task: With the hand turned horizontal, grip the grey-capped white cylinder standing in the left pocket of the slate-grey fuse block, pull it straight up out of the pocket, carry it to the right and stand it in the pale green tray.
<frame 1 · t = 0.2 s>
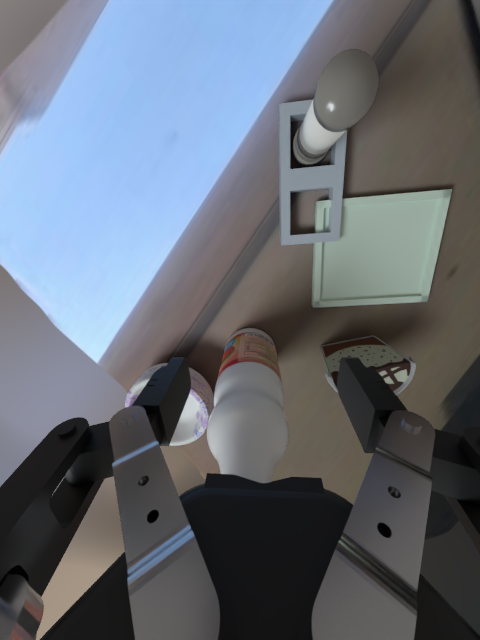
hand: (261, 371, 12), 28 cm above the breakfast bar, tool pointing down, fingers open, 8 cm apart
fuse block: (308, 180, 33), on the breakfast bar
food container: (347, 354, 43), on the breakfast bar
paper bowls: (180, 386, 48), on the breakfast bar
grey-capped white cylinder: (309, 145, 32), resting in fuse block
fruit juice: (250, 348, 44), on the breakfast bar
tray: (371, 253, 37), on the breakfast bar
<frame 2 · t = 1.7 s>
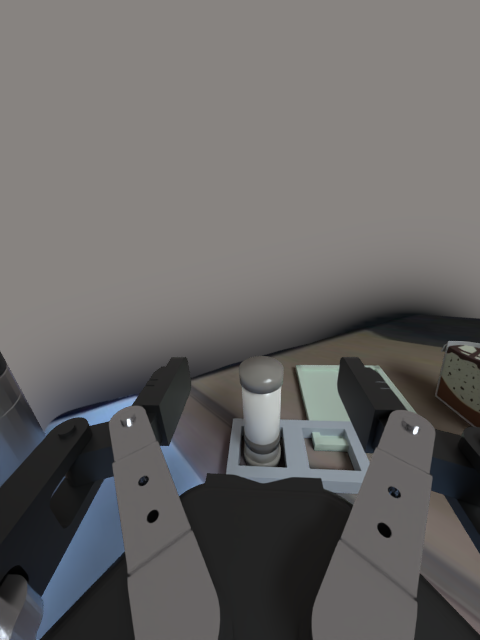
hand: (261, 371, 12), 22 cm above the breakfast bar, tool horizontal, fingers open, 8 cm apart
fuse block: (294, 456, 31), on the breakfast bar
food container: (479, 416, 36), on the breakfast bar
grey-capped white cylinder: (262, 455, 31), resting in fuse block
tray: (352, 402, 39), on the breakfast bar
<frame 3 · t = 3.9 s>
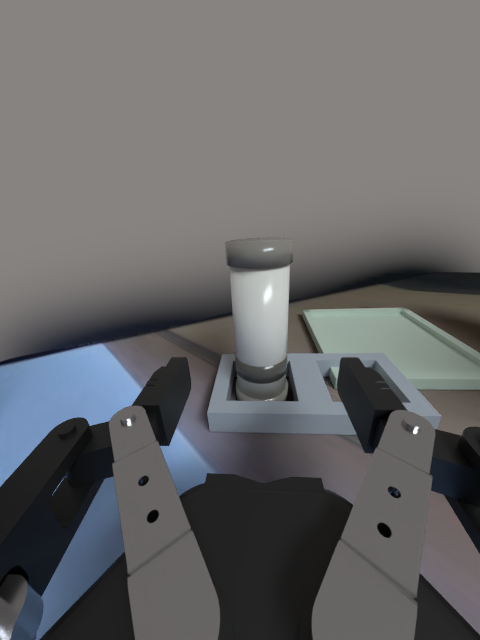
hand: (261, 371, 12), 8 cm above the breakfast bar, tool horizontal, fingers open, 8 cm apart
fuse block: (306, 395, 22), on the breakfast bar
grey-capped white cylinder: (261, 395, 22), resting in fuse block
tray: (377, 342, 30), on the breakfast bar
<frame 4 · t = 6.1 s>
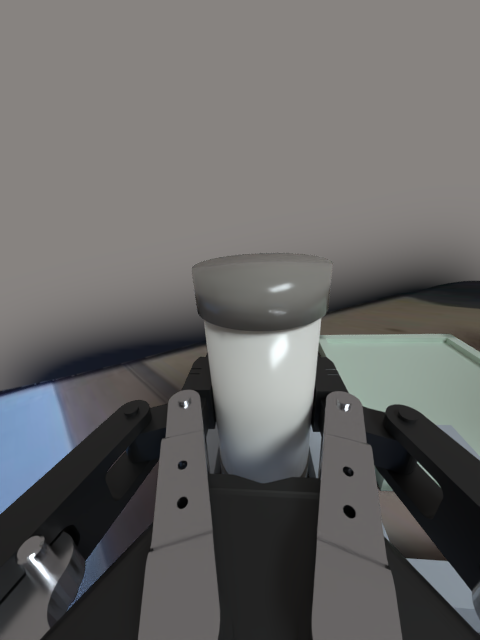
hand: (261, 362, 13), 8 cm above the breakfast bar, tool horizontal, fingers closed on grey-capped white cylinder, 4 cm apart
fuse block: (337, 506, 13), on the breakfast bar
grey-capped white cylinder: (264, 502, 14), resting in fuse block, touching gripper
tray: (425, 390, 22), on the breakfast bar
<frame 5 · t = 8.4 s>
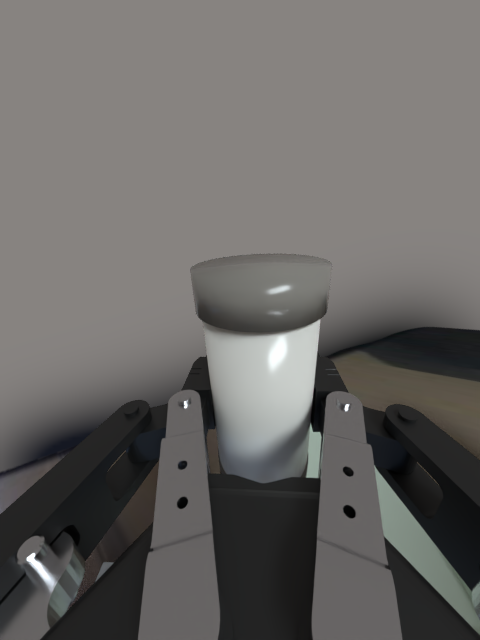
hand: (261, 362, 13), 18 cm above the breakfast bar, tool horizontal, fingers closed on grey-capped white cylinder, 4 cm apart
grey-capped white cylinder: (263, 503, 14), point 10 cm above the breakfast bar, touching gripper
tray: (336, 500, 22), on the breakfast bar
when the fingers open (10 cm above the breakfast bar, at t = 10.9 s): grey-capped white cylinder stays where it is, resting on tray.
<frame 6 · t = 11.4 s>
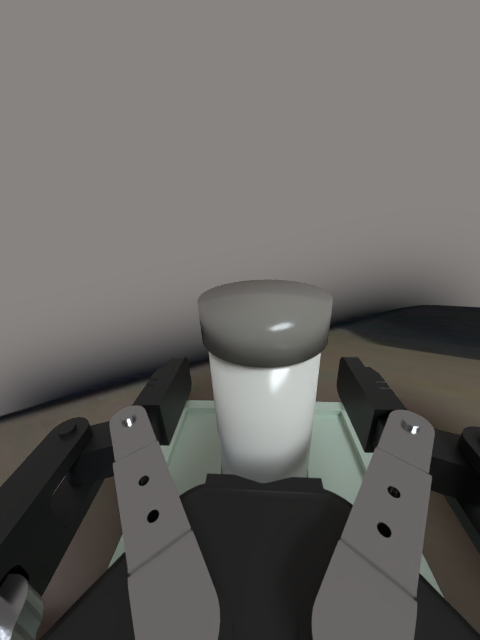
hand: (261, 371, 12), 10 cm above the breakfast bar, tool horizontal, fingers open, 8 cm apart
grey-capped white cylinder: (263, 516, 14), point 1 cm above the breakfast bar, touching tray
tray: (263, 520, 15), on the breakfast bar
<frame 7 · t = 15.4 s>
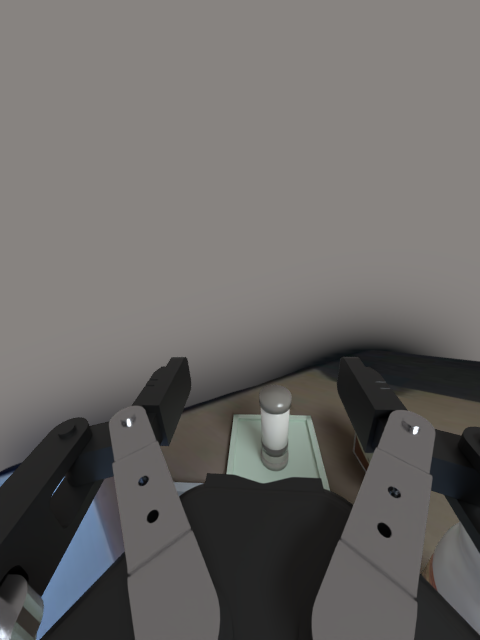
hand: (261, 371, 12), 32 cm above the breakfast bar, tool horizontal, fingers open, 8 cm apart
food container: (386, 475, 38), on the breakfast bar
grey-capped white cylinder: (274, 457, 41), point 1 cm above the breakfast bar, touching tray
tray: (274, 459, 41), on the breakfast bar
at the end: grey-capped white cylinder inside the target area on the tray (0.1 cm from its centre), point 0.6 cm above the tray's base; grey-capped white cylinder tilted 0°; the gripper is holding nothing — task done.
